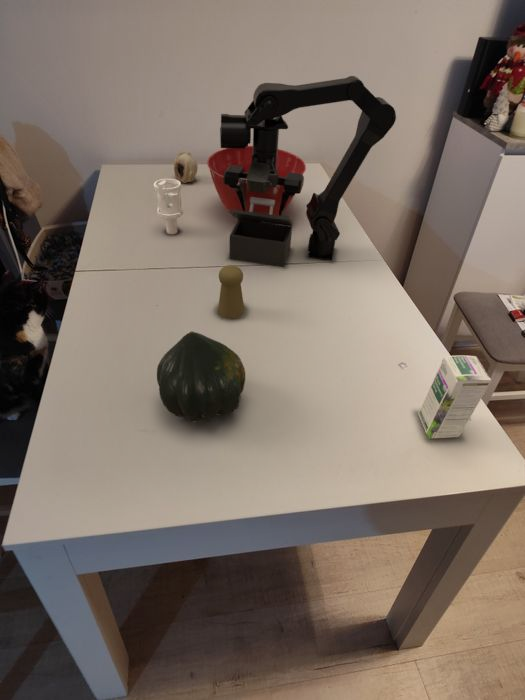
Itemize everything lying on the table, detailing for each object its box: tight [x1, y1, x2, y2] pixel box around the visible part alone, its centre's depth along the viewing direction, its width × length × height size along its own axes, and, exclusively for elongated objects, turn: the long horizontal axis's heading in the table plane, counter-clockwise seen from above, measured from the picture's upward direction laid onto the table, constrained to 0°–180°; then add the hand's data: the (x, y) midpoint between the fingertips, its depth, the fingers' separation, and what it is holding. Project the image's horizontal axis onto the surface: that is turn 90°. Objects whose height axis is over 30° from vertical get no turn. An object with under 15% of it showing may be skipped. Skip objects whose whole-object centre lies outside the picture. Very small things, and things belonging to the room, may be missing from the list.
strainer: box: [153, 178, 184, 235], centre depth 122 cm, size 7×7×15 cm
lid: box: [229, 197, 293, 227], centre depth 113 cm, size 10×15×5 cm
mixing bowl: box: [206, 145, 307, 222], centre depth 133 cm, size 28×28×15 cm
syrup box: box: [417, 354, 492, 439], centre depth 74 cm, size 6×6×14 cm
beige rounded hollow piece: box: [173, 150, 199, 184], centre depth 152 cm, size 9×8×10 cm
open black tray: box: [229, 219, 293, 268], centre depth 118 cm, size 10×15×7 cm, turn 78°
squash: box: [156, 330, 246, 423], centre depth 77 cm, size 14×15×15 cm
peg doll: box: [217, 264, 245, 320], centre depth 97 cm, size 6×6×11 cm
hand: (262, 213), depth 112 cm, fingers open, 9 cm apart
